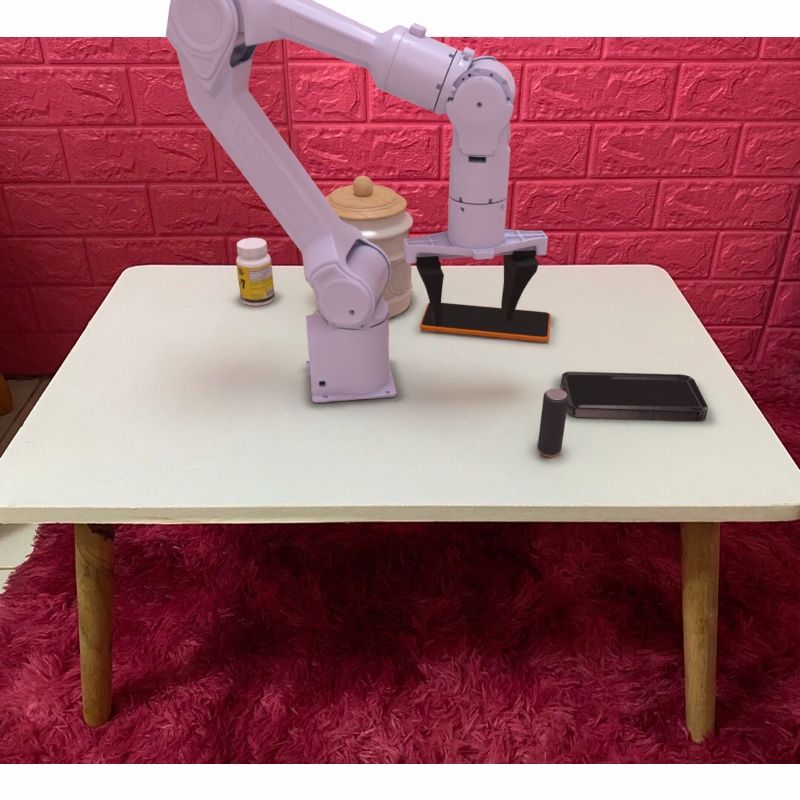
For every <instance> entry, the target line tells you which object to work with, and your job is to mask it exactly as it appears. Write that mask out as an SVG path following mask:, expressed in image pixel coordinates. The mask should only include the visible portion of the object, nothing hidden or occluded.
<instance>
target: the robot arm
mask: <svg viewBox="0 0 800 800" xmlns="http://www.w3.org/2000/svg"><path fill="white" fill-rule="evenodd" d="M427 30H428V29H427V27H426V26H424V25H421V24H419V23H417V22H414V23H412V24H411V25H410V27H406V26H404V25H401V24H397V25H395V26H393V27H391V28H389V29H388V30H386V31H383V32H380V31H377V30H376V29H373V28H371V27H369V26H367V25H365V24H363V23H361V22H359V21H357V20H354V19H353V18H351V17H348V16H346V15H344V14H343V13H340V12H338V11H336V10H334V9H332V8H330V7H328V6H326V5H324V4H321V3H319V2H317V1H315V0H170V1H169V6H168V14H167V22H166V29H165V37H166V39H167V40H168V42H169V43H170V44H171V46H172V47H173V49H174V50H175V51H176V54H177V59H178V62H179V66H180V70H181V75H182V78H183V82H184V86H185V90H186V95H187V98H188V100H189V103H190V105H191V107H192V108H193V110H194V111H195V113H196V114H197V115H198V117H199V118H200V119H201V121H202V122H203V123H204V125H205V126H206V127H207V129H208V130H209V131H210V133H211V134H212V135H213V136H214V138H215V140H216V141H217V142H218V143H219V145H220V146H221V147H222V148H223V150H224V151H225V153H226V154H227V155H228V156H229V158H230V160H232V162H233V163H234V164H235V166H236V168H237V169H238V170H239V171H240V172H241V174H242V175H243V176H244V178H245V179H246V180H247V182H248V183H249V185H250V186H251V187H252V188H253V190H254V191H255V192H256V194H257V195H258V196H259V198H260V199H261V200H262V202H263V203H264V204H265V205H266V208H268V210H269V212H270V213H271V214H272V215H273V216H274V218H275V219H276V221H277V222H278V223H279V224H280V226H281V227H282V228H283V230H284V231H285V232H286V234H287V235H288V236H289V238H290V239H291V241H292V242H293V243H294V244H295V246H296V247H297V248H298V250H299V252H300V253H301V256H302V265H303V274H304V279H305V280H306V282H307V284H308V285H309V286H310V287H311V289H312V291H313V294H314V297H315V301H316V306H317V309H318V310H319V312H315V313H311V314H307V315H305V323H306V334H307V335H306V337H307V347H308V348H307V349H308V360H306V362H305V363H306V365H305V366H306V376H307V377H310V388H311V389H310V390H311V400H312V402H313V403H316V404H317V403H329V402H343V401H355V400H370V399H381V398H382V399H383V398H394V397H396V396H397V388H396V385H395V384H396V383H395V380H394V376H393V373H392V368H391V364H390V331H389V330H390V327H389V326H390V324H389V323H390V322H389V321H390V318H389V309H388V305H387V304H386V302H385V300H384V297H383V295H382V291H383V289H384V287H385V286H386V285H387V284H388V282H389V279H390V276H391V264H390V261H389V259H388V256H387V255H386V254H385V252H384V251H383V250H382V249H381V248H379V247H378V246H376V245H374V244H373V243H371V242H369V241H368V240H367V239H366V238H365V237H364V236H363V235H362V234H361V232H360V231H359V229H358V228H356V227H354V226H352V225H350V224H347V223H345V222H343V221H342V220H341V219H340V218H339V217H338V215H337V214H336V212H335V211H334V210H333V208H332V207H331V205H330V204H329V203H328V201H327V200H326V198H325V197H326V196H324V194H323V193H322V191H321V190H320V188H319V187H318V186H317V184H316V183H315V181H313V180H314V179H312V177H311V176H310V174H309V173H308V172H307V171H306V169H305V168H304V166H303V164H302V163H301V162H300V161H299V159H298V158H297V156H296V155H295V154H294V152H293V151H292V149H291V148H290V147H289V145H288V144H287V142H286V141H285V140H284V138H283V136H282V135H281V134H280V133H279V131H278V130H277V128H276V127H275V126H274V124H273V123H272V122H271V120H270V119H269V118H268V116H267V115H266V113H265V111H264V110H263V109H262V108H261V106H260V105H259V103H258V102H257V100H256V99H255V98H254V96H253V95H252V94H251V92H250V90H249V84H250V76H251V71H252V64H253V59H254V58H253V56H254V55H255V52H256V50H257V49H258V46H259V45H260V44H264V43H269V42H274V41H279V40H289V41H291V42H294V43H296V44H299V45H302V46H304V47H307V48H310V49H312V50H314V51H317V52H321V53H323V54H326V55H329V56H331V57H334V58H336V59H339V60H342V61H345V62H347V63H350V64H353V65H355V66H358V67H362V68H364V69H366V70H367V71H368V73H369V74H370V77H371V78H372V81H373V83H374V85H375V87H376V88H377V89H378V90H380V91H382V92H384V93H387V94H389V95H391V96H394V97H396V98H398V99H401V100H403V101H405V102H407V103H410V104H411V105H412V104H413V105H415V106H417V107H420V108H422V109H424V110H426V111H429V112H431V113H434V114H436V115H439V116H440V115H441V116H442V115H447V118H448V120H449V122H450V124H451V125H452V136H451V137H452V138H451V139H452V140H451V141H452V142H451V143H452V144H451V146H450V147H449V177H448V179H449V180H448V181H449V182H448V205H447V206H448V207H447V208H448V209H447V231H442V232H437V233H432V234H427V235H421V236H417V237H409V238H406V239H403V249H404V259H405V261H406V263H407V264H408V263H411V264H415V267H416V269H417V272H418V275H419V276H420V279H421V281H422V282H423V285H424V288H425V291H426V294H427V297H428V301H429V302H430V307H431V313H432V320H433V323H434V325H435V326H441V325H442V305H441V303H442V296H443V286H444V279H445V278H444V277H445V275H444V271H443V270H442V263H441V261H440V260H445V259H460V258H472V259H474V260H479V261H480V260H492V259H494V258H495V256H503V283H502V284H503V285H502V295H501V303H500V308H501V313H502V315H503V317H504V319H505V321H512V318H513V315H514V312H515V309H517V306H518V303H519V301H520V299H521V297H522V294H523V292H524V291H525V289H526V287H527V286H528V284H529V283H530V281H531V280H532V278H533V277H534V276H535V274H536V273H537V272H538V268H539V260H538V259H537V258H536V257H537V256H547V251H548V241H549V237H548V236H547V235H546V234H545V233H546V232H544V231H543V230H522V229H521V230H520V229H517V230H516V229H507V228H506V221H507V219H506V217H507V204H508V192H509V191H508V190H509V176H510V163H511V162H510V161H511V147H510V145H509V142H510V140H511V133H512V129H511V126H510V125H511V124H510V122H511V119H512V116H513V112H514V108H515V106H514V103H515V99H516V91H517V90H516V89H517V87H516V82H515V78H514V76H513V73H512V72H511V71H510V69H509V68H508V67H507V66H506V65H505V64H503V63H502V62H500V61H499V60H497V58H496V57H494V56H492V55H482V56H477V57H475V55H476V50H475V49H472V48H470V47H467V46H465V47H464V49H463V51H462V50H460V49H458V48H455V47H453V46H451V45H448V44H446V43H444V42H441V41H439V40H438V39H437V40H436V39H435V38H432V37H430V36H427V35H426V33H427ZM429 302H428V303H429Z"/></svg>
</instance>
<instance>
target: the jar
mask: <svg viewBox="0 0 800 800" xmlns="http://www.w3.org/2000/svg"><path fill="white" fill-rule="evenodd" d="M324 197H325V198H326V200H327V201H328V203H329V204H330V205H331V207H332V208H333V210H334V211H335V212H336V214H337V215H338V217H339V218H340V219H341V220H342V221H343V222H345V223H347V224H350V225H352V226H354V227H356V228H358V229H359V231H360V232H361V234H362V235H363V236H364V237H365V238H366V239H367V240H368V241H369V242H371V243H373V244H374V245H376V246H378V247H379V248H381V249H382V250H383V251H384V252H385V254H386V255H387V256H388V259H389V261H390V264H391V276H390V279H389V282H388V284H387V285H386V286H385V287H384V289H383V291H382V295H383V297H384V300H385V302H386V304H387V305H388V309H389V319H390V318H392V317H393V318H394V317H396V316H398V315H401V314H402V313H404V312H405V311H406V310H407V309H408V308H409V306H410V305H411V300H412V297H413V293H414V292H413V289H414V288H413V282H412V263H408V264H407V263H406V261H405V259H404V249H403V239H406V238H410V229H411V228H412V227H413V224H414V218H413V216H412V215H411V214H410V213H409V212H408V211H406V209H407V205H408V202H407V199H405V197H404V196H402V195H401V194H398V193H397V192H396V191H395V190H394V189H391V188H390V187H387V186H384V185H379V184H373V181H372V179H371V178H370V177H369V176H367V175H359V176H357V177H355V178H354V180H353V182H352V184H350V185H345V186H344V185H343V186H341V187H338V188H336V189H334V190H332V192H331V193H330V194H328V195H326V196H324Z"/></svg>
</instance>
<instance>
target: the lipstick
mask: <svg viewBox="0 0 800 800" xmlns="http://www.w3.org/2000/svg"><path fill="white" fill-rule="evenodd" d="M542 397H543V398H542V406H541V413H540V414H541V415H540V422H539V431H538V440H537V449H538V451H539V452H540V454H541V455H543V456H544V457H548V458H549V457H556V456H557V455H558V454H560V453H561V452H562V448H563V441H564V435H565V434H564V433H565V427H566V419H567V413H568V412H567V406H568V399H569V396H568V394H567V393H566V392H565V391H563V390H562V388H561V389H560V388H549V389H547V390H546V391H545V392H544V393H543V396H542Z"/></svg>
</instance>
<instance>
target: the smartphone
mask: <svg viewBox="0 0 800 800" xmlns="http://www.w3.org/2000/svg"><path fill="white" fill-rule="evenodd" d="M441 305H442V325H441V326H435V325H434V323H433V320H432V313H431V307H430V302H428V303H427V304H426V306H425V310H424V313H423V315H422V318H421V321H420V323H419V328H420V329H421V330H423V331H429V332H439V333H450V334H462V335H471V336H481V337H490V338H502V339H510V340H511V339H512V340H523V341H531V342H542V343H543V342H547V341H549V339H550V333H551V332H550V331H551V319H552V315H551V313H550V312H548V311H537V310H529V309H527V310H525V309H517V308H516V309H515V312H514V315H513V318H512V321H505V319H504V317H503V315H502V313H501V307H494V306H484V305H483V306H482V305H472V304H460V303H452V302H451V303H450V302H441Z"/></svg>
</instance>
